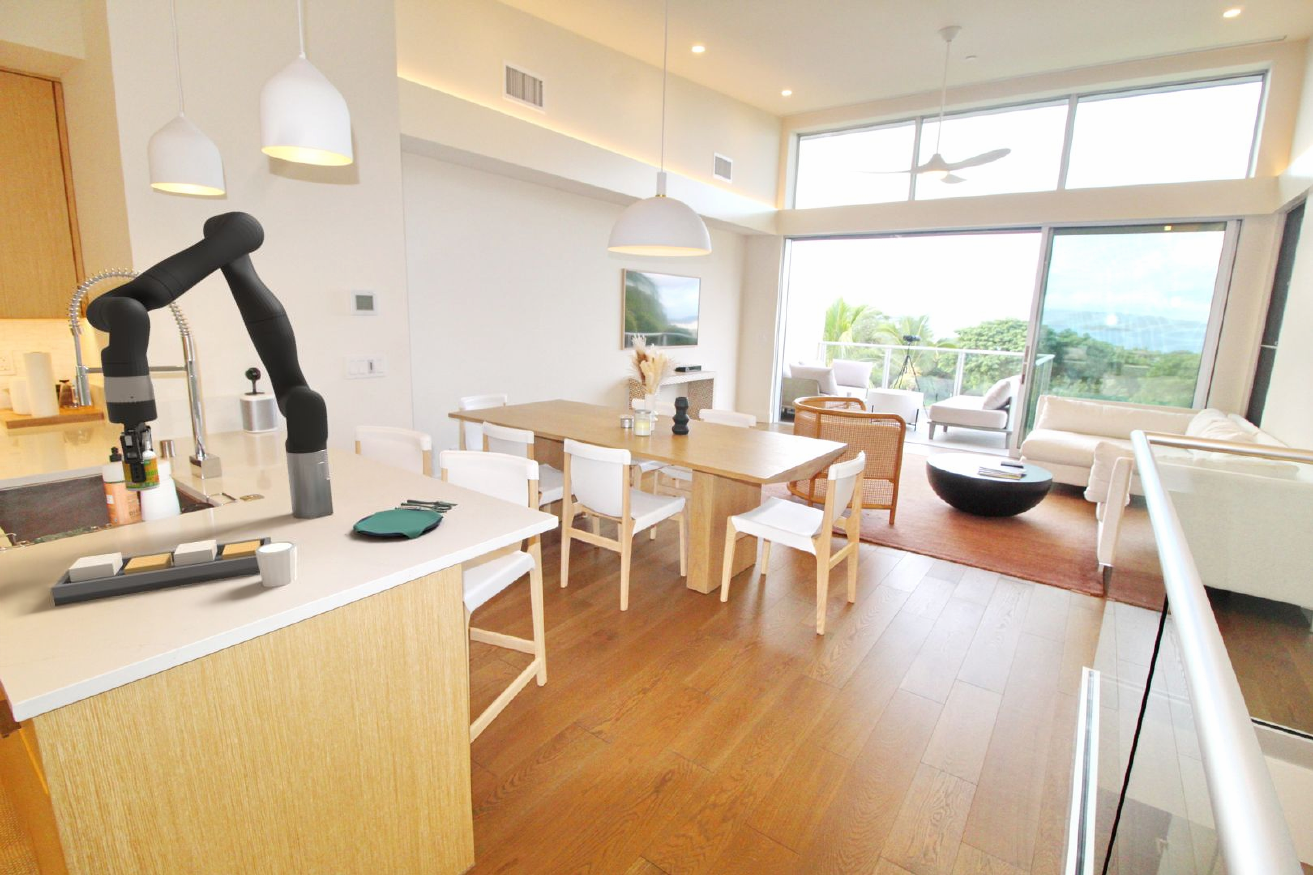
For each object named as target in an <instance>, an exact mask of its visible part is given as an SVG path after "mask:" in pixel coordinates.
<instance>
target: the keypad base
mask: <svg viewBox="0 0 1313 875" xmlns="http://www.w3.org/2000/svg"><path fill="white" fill-rule="evenodd" d="M259 540H260V545H261V546H263V545H266V544H270V543H272V537H271V536H268V537H259V538H252V539H245V540H238V541H231V542H225V543H218V544H217V543H216V545H217V553H216V556H215V558H214V561H210V562H203V563H196V564H190V565H183V566H176V567H175V561H174V553H175V551H176V549H174V550H166V551H158V552H153V553H145V554H136V555H130V556H122V562H123V565H122V566H121V568H120V569H119V570H118V572H117V573H116V574H115V576H110V577H103V578H96V579H89V580H83V581H76V582H71V579H70V574H69V569H68V570H67V571H66V572H65V573H64V574H63V575H62V576H60V578H59V580H57V581H56V582H55V583H54V585H53V586H51V592H52V597H53V603H54V607H61V606H67V605H71V604H72V605H73V604H78V603H80V604H81V603H84V602H91V601H97V600H103V599H110V598H114V597H115V598H117V597H121V596H122V597H123V596H128V595H134V594H140V593H146V592H152V591H159V590H163V589H164V590H165V589H169V588H177V587H182V586H188V585H195V584H201V583H207V582H214V581H219V580H226V579H232V578H238V577H245V576H249V575H250V576H251V575H257V574H260V570H259V566H258V561H257V557H256V556H249V557H242V558H236V559H229V560H223V558H222V554H223V551H224V548H225V545H230V544H238V543H245V542H252V541H259ZM166 553H171V557H172V564H173V565H172V567H171V568H169V569H162V570H156V571H149V572H142V573H136V574H129V575H125V572H124V569H125V567H126V566H127V565H128V563H129V562H130V560H131V559H132V558H138V557H145V556H152V555H159V554H166Z"/></svg>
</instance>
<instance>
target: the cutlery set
mask: <svg viewBox="0 0 1313 875" xmlns="http://www.w3.org/2000/svg"><path fill="white" fill-rule="evenodd" d="M430 505H431V506H430ZM457 505H459V504H458V503H451V502H445V501H443V500H441V501H439V500H437V501H422V500H417V499H410V498H409V499H407V500H406V502H401V503H400V506H401V507H394V509H386V510H381V511H377V512H374V514H370V515H368V516H366V517H364V518H361V519H360V520H358V521H356V523H354V524H353V525H352V529H353V530H354V531H355V533H356V534H361V533H362V534H365V535H368V536H375V537H376V536H377V537H398V536H399V537H400V536H407V537H408V538H410V539H416V538H418V537H419V536H420V535H421V534H422V533H423V532H425V531H428V530H430V529H432V528H435V527H437V526H438V525H439V524H440V523H441V522H442V521H443V519H444V516H443V514H441V513H448V510H449V509H452V508H453V507H456V506H457ZM402 507H405V508H402ZM406 507H407V508H406ZM408 507H409V508H408ZM411 507H412V508H411ZM413 507H414V508H413ZM418 507H419V508H418ZM423 508H424V509H423ZM425 508H426V509H425ZM427 508H430V509H427Z"/></svg>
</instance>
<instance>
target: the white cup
mask: <svg viewBox="0 0 1313 875" xmlns="http://www.w3.org/2000/svg"><path fill="white" fill-rule="evenodd" d="M297 549H298V548H297V543H296V542H294V541H277V542H271V543H270V544H266V545H263V546H261V547H259V548H257V549H256V550H255V553H256V557H257V561H258V566H259V570H260V573H259V574H260V577H261V582H262V585H263V586H264V587H266V588H277V587H282V586H286V585H288V584H291V583H294V582H295V581H296V580H297V568H298V567H297V564H298V563H297V560H298V559H297V558H298V557H297V555H298V554H297Z"/></svg>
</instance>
